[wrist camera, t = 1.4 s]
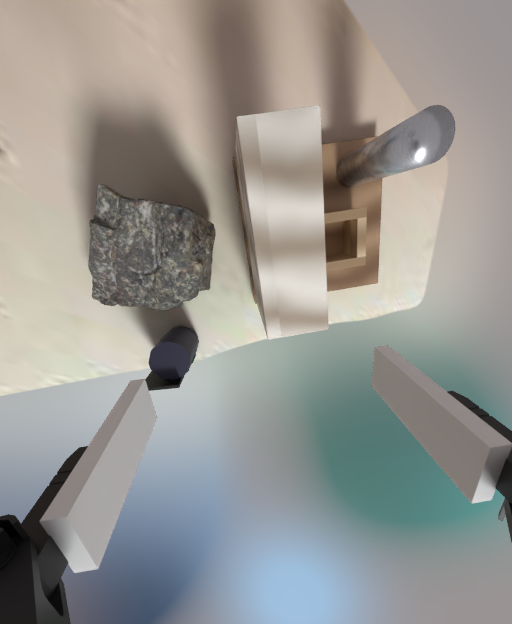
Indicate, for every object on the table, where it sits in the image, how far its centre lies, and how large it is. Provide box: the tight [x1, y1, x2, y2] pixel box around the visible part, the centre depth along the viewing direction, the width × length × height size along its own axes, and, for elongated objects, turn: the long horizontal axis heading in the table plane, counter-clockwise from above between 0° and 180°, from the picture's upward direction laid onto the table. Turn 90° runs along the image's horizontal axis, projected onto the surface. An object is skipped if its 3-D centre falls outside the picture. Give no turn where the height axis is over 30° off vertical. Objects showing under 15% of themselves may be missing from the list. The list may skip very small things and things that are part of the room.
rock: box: [88, 184, 215, 310], centre depth 31 cm, size 18×13×15 cm
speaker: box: [145, 326, 199, 390], centre depth 36 cm, size 8×6×10 cm
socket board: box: [233, 105, 382, 340], centre depth 30 cm, size 20×20×14 cm
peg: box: [336, 105, 455, 187], centre depth 26 cm, size 4×4×14 cm
